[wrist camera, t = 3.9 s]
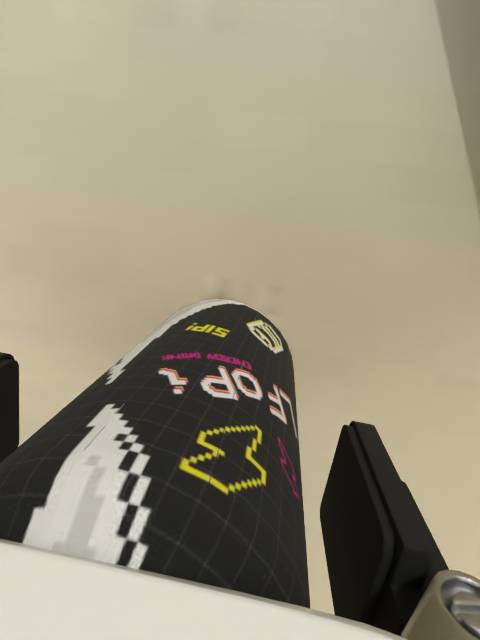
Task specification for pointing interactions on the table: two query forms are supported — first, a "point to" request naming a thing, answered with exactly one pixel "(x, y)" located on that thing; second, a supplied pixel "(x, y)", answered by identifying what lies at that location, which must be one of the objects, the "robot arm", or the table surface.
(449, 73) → the table surface
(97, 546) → the beverage can
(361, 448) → the robot arm
